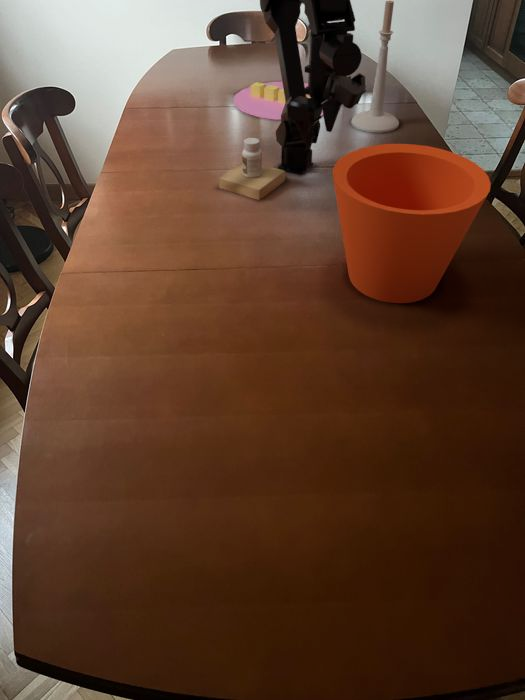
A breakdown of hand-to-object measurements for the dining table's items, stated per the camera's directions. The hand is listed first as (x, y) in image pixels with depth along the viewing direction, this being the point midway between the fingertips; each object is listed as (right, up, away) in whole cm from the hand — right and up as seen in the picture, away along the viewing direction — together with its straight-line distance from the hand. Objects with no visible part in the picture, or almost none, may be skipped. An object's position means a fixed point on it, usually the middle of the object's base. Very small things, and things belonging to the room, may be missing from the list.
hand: (319, 138), depth 125 cm
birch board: (-14, -7, +11) cm, 19 cm away
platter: (-5, +30, +51) cm, 59 cm away
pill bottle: (-14, -5, +9) cm, 18 cm away
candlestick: (+19, +17, +37) cm, 45 cm away
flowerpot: (+12, -32, -17) cm, 38 cm away
